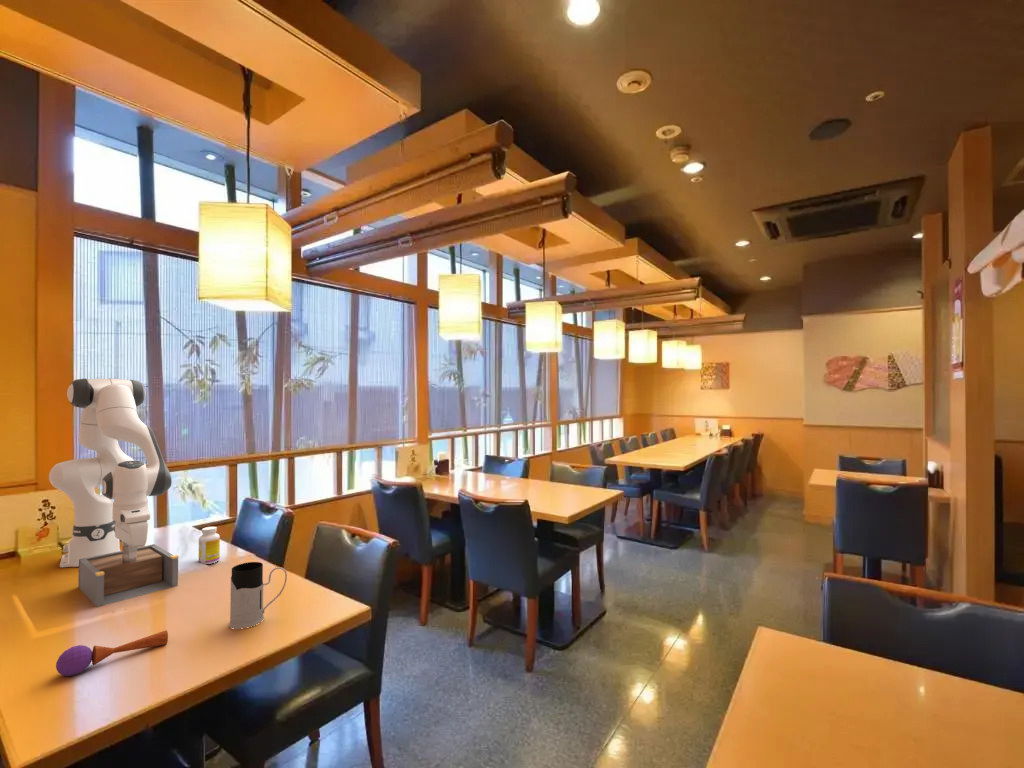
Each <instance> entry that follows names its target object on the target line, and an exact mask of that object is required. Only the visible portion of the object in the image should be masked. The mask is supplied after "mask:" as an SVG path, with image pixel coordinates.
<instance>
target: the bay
mask: <svg viewBox="0 0 1024 768" xmlns="http://www.w3.org/2000/svg"><path fill="white" fill-rule="evenodd" d="M148 548H149V549H151V550H153V551H154V552H156V553H158V554H159V555H161V556H162V581H160V582H156V583H152V584H148V585H144V586H140V587H136V588H132V589H128V590H124V591H120V592H116V593H112V594H108V595H105V596H104V572H103V571H101V572H100V571H99V570H98V569H97V568H96V567H95V566H94V565H92V564H91V563H90V562H89V561H90V560H95V559H99V558H104V557H109V556H114V555H119V554H122V550H121V551H118V552H113V553H108V554H103V555H98V556H93V557H88V558H83V559H79V567H78V579H77V581H78V584H77V585H78V586H77V587H78V589H79V590H80V591H81V592H82V593H83V595H84V596H85V597H87V599H88V600H89V601H90V602H91V603H92V604H93V605H94V606H95V607H96V608H99V607H100V608H101V607H103V606H107V605H111V604H115V603H118V602H122V601H126V600H129V599H133V598H136V597H140V596H144V595H148V594H152V593H155V592H159V591H163V590H167V589H171V588H174V587H177V586H179V582H178V581H179V555H177V554H173V553H170V552H169V551H167V550H166V549H163V548H162V547H160V546H159V545H157V544H149V545H144V546H140V547H137V551H138V550H143V549H148Z"/></svg>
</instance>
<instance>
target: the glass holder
mask: <svg viewBox="0 0 1024 768" xmlns="http://www.w3.org/2000/svg"><path fill="white" fill-rule="evenodd" d="M275 570H283V572H284V575H285V576H284V578H285V579H284V584H283V586H282V589H280V591H279V593H278V594H277V595H276V596H275V597H274V598H273V599H272V600H271V601H270V602H268V603H267V604H266V605H265V606H264V586H267V585H269V584H270V583H271V576H272V574H273V573H274V572H275ZM263 572H264V565H263V563H262V562H261V561H249V562H248V561H247V562H244V563H240V564H237V565H234V566H233V567H232V568H231V577H230V602H229V603H230V609H229V610H230V612H229V613H230V615H229V616H230V619H229V623H228V626H229V627H230V628H234V629H241V628H247V627H251V626H254V625H256V624H258V623H260V622H261V621H262V620H263V619H264V617H265V615H264V614H265V610H266V609H267V608H268V607H269V606H270V605H271V604H272V603H273V602H274V601H275V600H277V598H278V597H279V596H280V595H282V593H283V591H284V589H285V587H286V583H287V579H288V577H287V576H288V573H287V571H286V569H285V568H283V567H279V566H277V567H275V568H273V569H272V570H271V571H270V572H269V576H268V582H266V583H264V581H263V580H264V579H263V577H264V575H263V574H264V573H263ZM228 626H227V627H228ZM229 627H228V628H229ZM254 627H255V626H254ZM230 628H229V629H230ZM251 628H252V627H251ZM234 629H233V630H234Z"/></svg>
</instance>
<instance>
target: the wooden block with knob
mask: <svg viewBox="0 0 1024 768" xmlns="http://www.w3.org/2000/svg"><path fill="white" fill-rule="evenodd" d="M121 548H122V549H121V551H122V554H119V555H114V556H109V557H104V558H99V559H95V560H90V561H89V562H90V563H91V564H92V565H94V566H95V567H96V568H97V569H98V570H99V571H100V572H101V571H103V572H104V596H105V595H108V594H112V593H116V592H120V591H124V590H128V589H132V588H136V587H140V586H144V585H148V584H152V583H156V582H160V581H162V556H161V555H159V554H158V553H156V552H154V551H153V550H151V549H149V548H148V549H143V550H138V551H136V557H134V558H129V557H128V552H129V548H128V545H124V546H122V547H121Z"/></svg>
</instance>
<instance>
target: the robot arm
mask: <svg viewBox="0 0 1024 768" xmlns="http://www.w3.org/2000/svg"><path fill="white" fill-rule="evenodd" d="M66 391H67V392H66V395H67V400H68V401H69V403H70V405H72V406H73V407H75V408H78V409H79V408H80V409H82V410H81V413H80V422H79V431H78V432H79V433H78V442H79V444H80V445H81V446H82V447H84V448H87V449H89V450H90V451H95V452H96V457H95V456H94V457H89V458H77V459H75V458H74V459H70V460H65V461H61V462H59V463H55V464H54V466H52V468H51V469H50V471H49V475H48V480H49V482H50V484H51V485H52V487H53V488H55V489H57V490H59V491H61V492H62V493H64V494H65V495H67V496H68V498H69V499H70V500H71V502H72V505H73V510H74V511H73V512H74V525H73V526H72V527H73V528H72V530H71V531H72V537H71V539H70V540H69V542H68V543H67V544H66V545H63V546H62V547H63V549H62V552H63V553H64V554H63V555H62V556H61V559H60V563H59V568H68V567H69V568H71V567H72V568H73V567H75V568H76V567H78V568H79V559H83V558H88V557H93V556H98V555H103V554H108V553H113V552H118V551H122V549H120V543H121V545H122V546H124V545H128V548H129V552H128V557H129V558H134V557H136V551H137V548H138V547H143V546H146V543H147V540H148V531H149V529H148V528H149V520H151V512H150V511H149V506H148V505H149V504H148V503H149V501H148V497H157V496H163V494H165V493H166V492H167V491H168V490H169V489H170V488H171V486H172V474H171V472H170V469H169V468H168V465H166V462H165V460H164V458H163V457H164V456H163V454H162V451H161V449H160V446H159V444H158V441H157V438H156V436H155V433H154V431H153V429H152V428H151V427H150V425H147V424H145V423H144V422H143V421H142V420H141V419H140V417H139V415H138V409H137V407H140V406H141V405H142V404H143V403H144V401H145V398H146V388H145V385H144V384H143V383H142V382H141V381H140V380H134V379H122V378H112V377H111V378H110V377H109V378H89V379H87V378H78V379H77V378H76V379H74V380H73V381H71V383H70V385H69V386H68V388H67V390H66ZM119 441H121V442H126V443H129V444H133V445H135V446H138V447H139V448H140V449H141V450H142V452H143V454H144V458H145V460H146V463H147V464H146V463H145V462H144V461H140V460H134V458H132V457H131V456H130V455H128V454H126V453H125V452H124V451H123V450H122V449H121V447H120V443H119ZM147 465H148V467H147ZM96 487H102V488H101V489H102V490H101V494H99V493H96V490H95V489H96Z"/></svg>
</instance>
